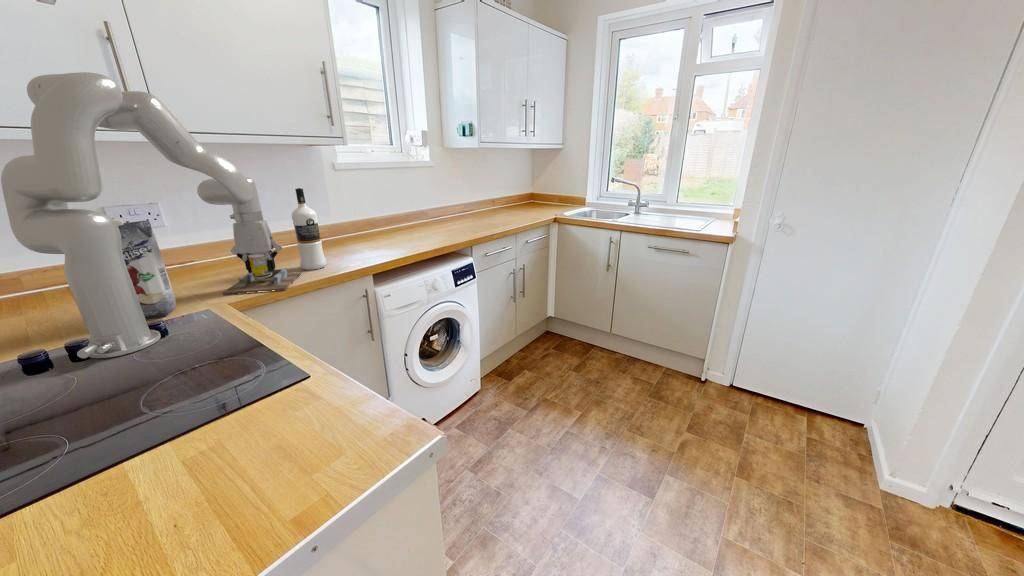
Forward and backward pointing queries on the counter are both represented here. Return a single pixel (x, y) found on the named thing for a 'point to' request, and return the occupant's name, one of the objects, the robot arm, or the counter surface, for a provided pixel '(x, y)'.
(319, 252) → the vodka
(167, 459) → the counter surface
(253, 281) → the u rest
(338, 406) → the counter surface
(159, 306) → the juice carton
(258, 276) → the supplement bottle
